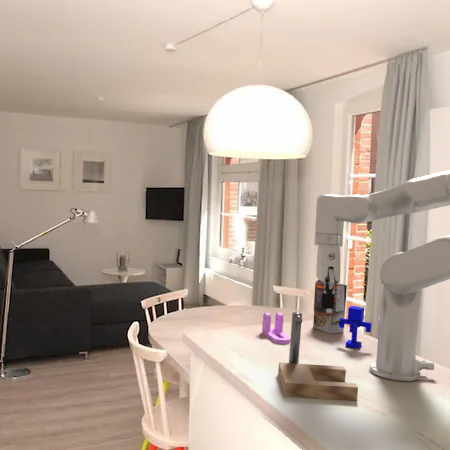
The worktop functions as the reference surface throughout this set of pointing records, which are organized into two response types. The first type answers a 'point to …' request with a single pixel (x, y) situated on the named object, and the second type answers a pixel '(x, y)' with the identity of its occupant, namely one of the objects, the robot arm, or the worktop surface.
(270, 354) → the worktop surface
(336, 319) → the coffee box
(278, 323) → the bracket
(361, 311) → the figurine
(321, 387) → the bay shelf
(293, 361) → the hook post
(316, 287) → the supplement bottle
